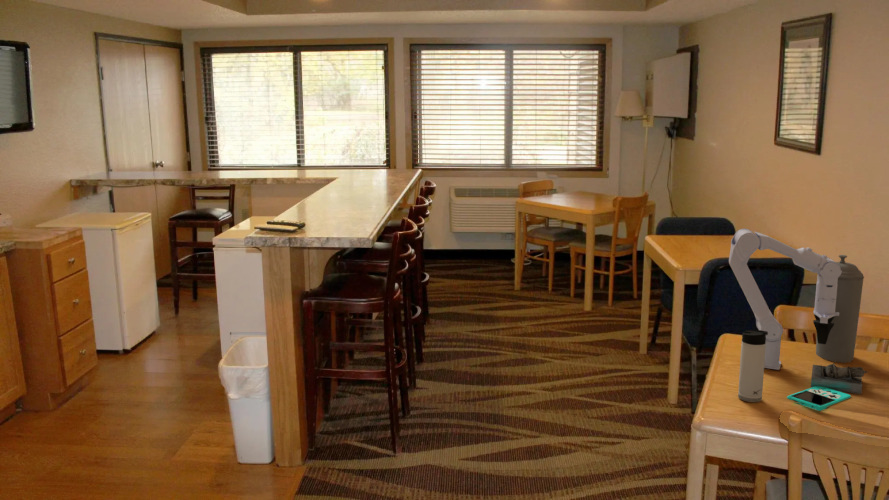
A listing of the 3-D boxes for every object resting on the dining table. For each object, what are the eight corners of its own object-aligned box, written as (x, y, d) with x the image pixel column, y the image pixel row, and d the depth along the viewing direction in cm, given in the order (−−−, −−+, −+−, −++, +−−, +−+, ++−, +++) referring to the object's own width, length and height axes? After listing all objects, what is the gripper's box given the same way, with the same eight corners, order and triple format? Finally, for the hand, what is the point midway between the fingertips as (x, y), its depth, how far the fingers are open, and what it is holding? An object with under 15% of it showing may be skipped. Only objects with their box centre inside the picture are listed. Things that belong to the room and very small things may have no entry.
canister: (864, 365, 232) (875, 258, 226) (826, 366, 232) (836, 259, 226) (840, 353, 245) (850, 251, 239) (804, 354, 244) (812, 252, 238)
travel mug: (761, 404, 201) (766, 335, 198) (736, 399, 205) (740, 331, 201) (764, 397, 206) (769, 329, 203) (740, 392, 210) (744, 326, 206)
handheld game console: (852, 399, 206) (852, 394, 205) (820, 411, 197) (820, 406, 197) (817, 388, 214) (818, 384, 214) (786, 400, 205) (786, 395, 205)
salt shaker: (823, 387, 215) (869, 385, 210) (821, 370, 213) (867, 368, 208) (822, 376, 220) (867, 374, 215) (819, 359, 218) (865, 357, 213)
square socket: (810, 387, 214) (811, 377, 213) (812, 373, 225) (812, 364, 224) (861, 394, 208) (862, 384, 207) (860, 380, 219) (860, 370, 218)
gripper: (840, 304, 214) (836, 348, 216) (840, 294, 227) (836, 335, 229) (813, 301, 217) (810, 345, 220) (815, 291, 230) (811, 333, 232)
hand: (822, 340), depth 224 cm, fingers open, 7 cm apart
